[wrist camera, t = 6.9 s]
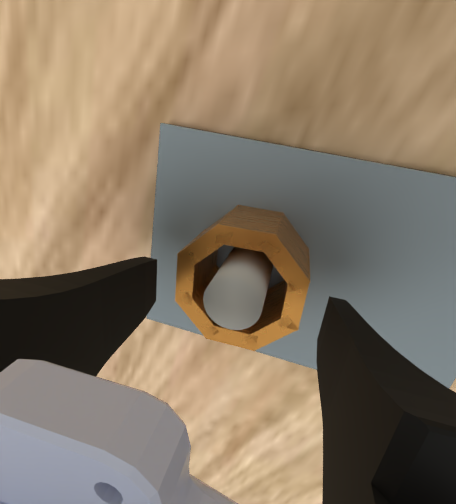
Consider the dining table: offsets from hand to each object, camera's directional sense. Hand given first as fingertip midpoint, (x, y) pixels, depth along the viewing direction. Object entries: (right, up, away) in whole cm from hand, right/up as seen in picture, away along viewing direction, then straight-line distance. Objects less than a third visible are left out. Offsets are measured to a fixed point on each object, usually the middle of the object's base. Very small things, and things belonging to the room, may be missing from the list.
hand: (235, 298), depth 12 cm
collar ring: (+1, +2, +4) cm, 5 cm away
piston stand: (+4, +1, +5) cm, 6 cm away
